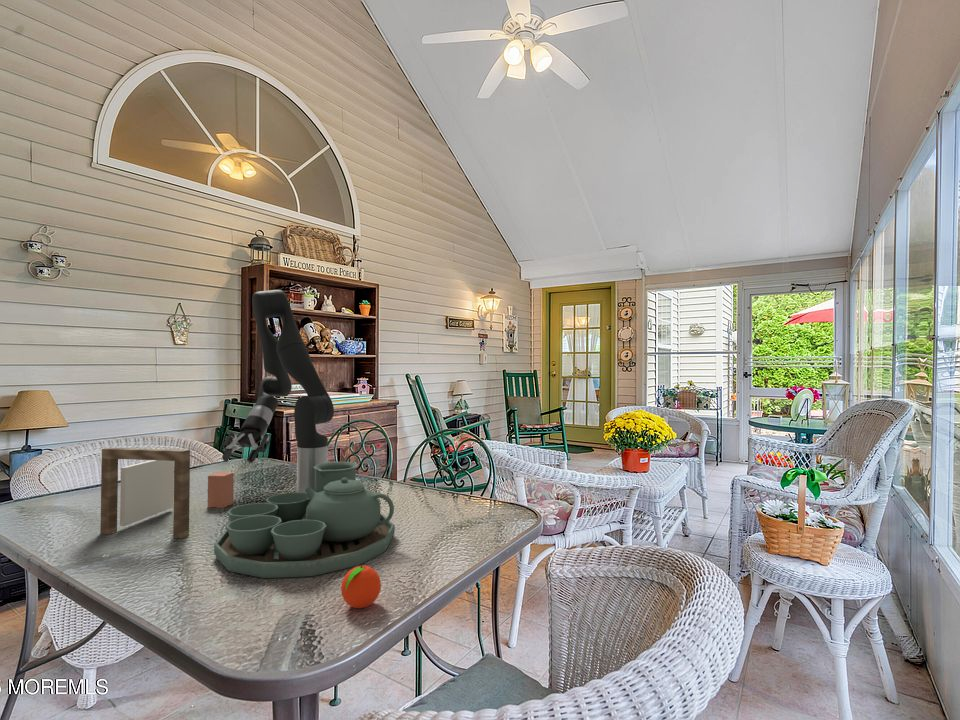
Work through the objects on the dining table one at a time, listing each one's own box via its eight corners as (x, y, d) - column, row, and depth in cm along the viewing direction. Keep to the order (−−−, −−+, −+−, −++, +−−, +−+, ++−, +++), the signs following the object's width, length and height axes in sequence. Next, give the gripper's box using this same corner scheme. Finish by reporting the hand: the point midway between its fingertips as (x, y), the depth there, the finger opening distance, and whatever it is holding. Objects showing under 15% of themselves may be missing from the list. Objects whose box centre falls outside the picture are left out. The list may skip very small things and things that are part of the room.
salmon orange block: (233, 503, 154) (233, 472, 154) (223, 508, 149) (223, 476, 149) (218, 502, 154) (218, 472, 155) (207, 507, 150) (208, 475, 150)
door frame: (188, 535, 125) (190, 449, 125) (182, 538, 123) (183, 451, 123) (108, 530, 128) (109, 447, 128) (100, 534, 125) (101, 448, 126)
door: (165, 507, 146) (166, 455, 146) (173, 507, 146) (174, 456, 146) (115, 525, 129) (116, 467, 129) (124, 526, 128) (125, 467, 129)
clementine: (362, 622, 83) (362, 579, 83) (328, 614, 86) (328, 572, 86) (388, 601, 91) (388, 561, 91) (356, 594, 93) (356, 556, 93)
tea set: (225, 529, 130) (226, 466, 130) (379, 514, 145) (380, 457, 145) (200, 595, 93) (201, 506, 93) (410, 565, 107) (411, 489, 108)
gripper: (233, 414, 170) (211, 453, 158) (273, 415, 168) (253, 455, 156) (242, 427, 175) (221, 467, 163) (281, 428, 173) (262, 468, 162)
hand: (236, 461), depth 160 cm, fingers open, 8 cm apart
